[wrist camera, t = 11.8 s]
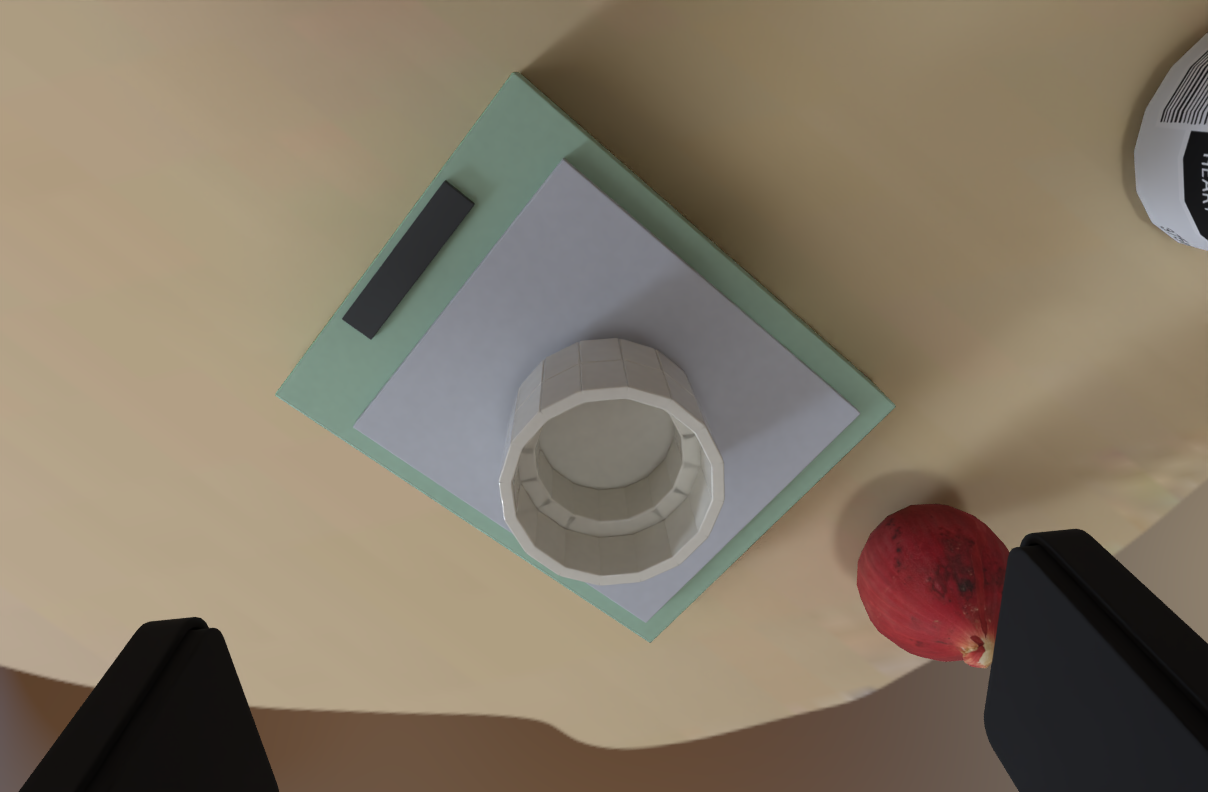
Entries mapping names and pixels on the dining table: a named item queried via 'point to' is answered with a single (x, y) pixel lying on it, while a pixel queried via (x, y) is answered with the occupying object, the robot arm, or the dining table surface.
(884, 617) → the onion
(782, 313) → the scale
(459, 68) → the dining table surface
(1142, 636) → the robot arm
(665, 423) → the bowl
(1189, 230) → the supplement can
